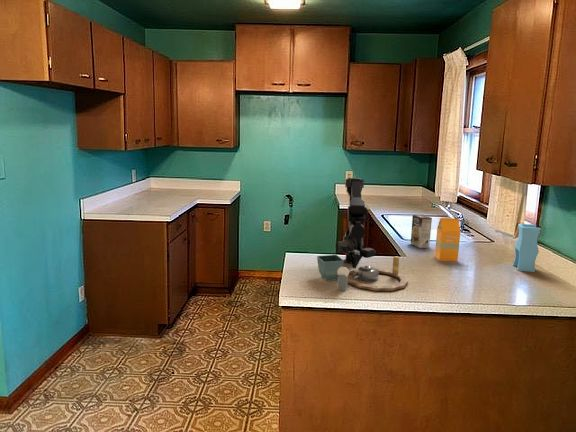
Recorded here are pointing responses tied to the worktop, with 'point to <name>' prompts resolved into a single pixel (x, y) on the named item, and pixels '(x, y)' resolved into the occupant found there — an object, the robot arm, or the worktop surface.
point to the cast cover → (368, 273)
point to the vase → (526, 247)
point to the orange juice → (447, 239)
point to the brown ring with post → (393, 273)
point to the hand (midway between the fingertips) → (354, 268)
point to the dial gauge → (342, 278)
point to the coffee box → (421, 231)
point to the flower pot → (329, 266)
